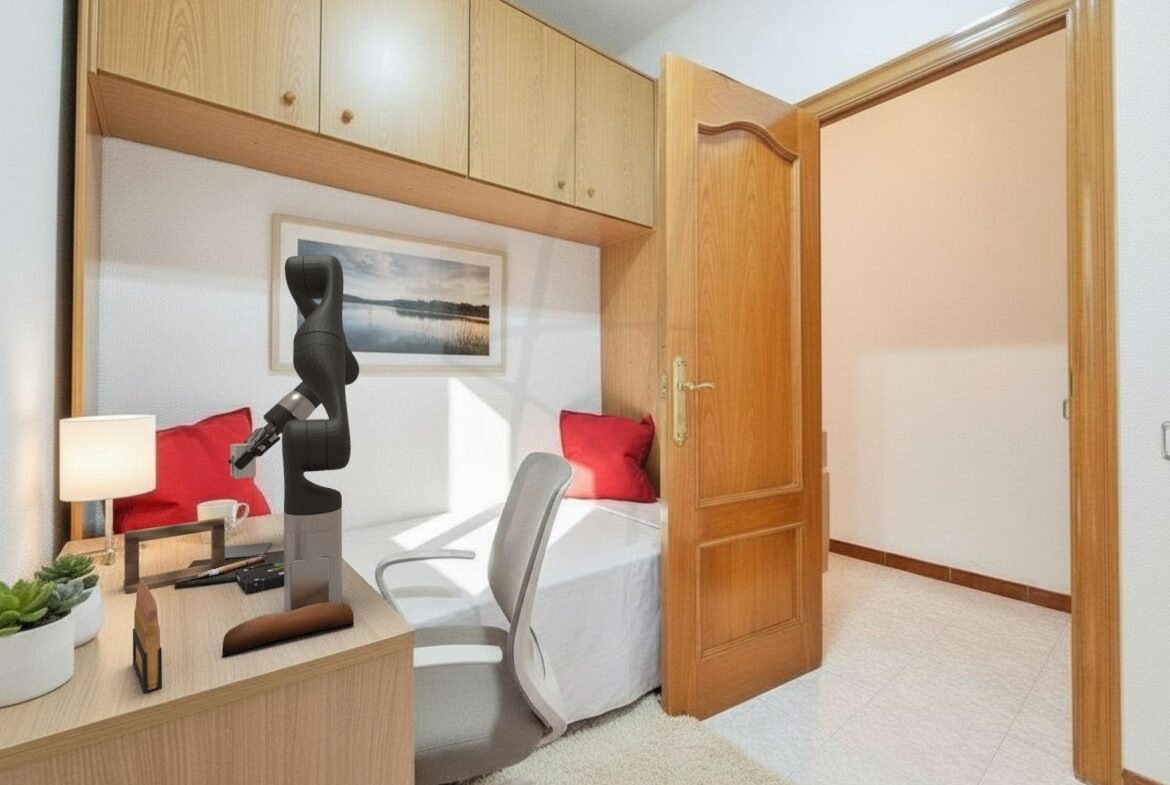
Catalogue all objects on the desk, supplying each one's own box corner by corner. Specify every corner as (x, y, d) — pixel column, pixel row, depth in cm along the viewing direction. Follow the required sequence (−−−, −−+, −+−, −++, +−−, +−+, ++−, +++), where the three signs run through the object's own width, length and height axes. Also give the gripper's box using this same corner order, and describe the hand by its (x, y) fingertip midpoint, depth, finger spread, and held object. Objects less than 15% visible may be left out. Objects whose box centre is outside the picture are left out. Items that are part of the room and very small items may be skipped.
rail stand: (220, 566, 116) (220, 516, 116) (226, 573, 112) (226, 520, 112) (123, 585, 105) (123, 529, 105) (126, 593, 101) (126, 535, 100)
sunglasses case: (343, 608, 94) (347, 581, 91) (351, 641, 89) (356, 615, 86) (220, 635, 84) (220, 606, 81) (221, 675, 79) (221, 646, 76)
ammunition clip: (162, 688, 69) (161, 596, 69) (143, 694, 68) (143, 600, 68) (149, 659, 77) (149, 575, 76) (132, 664, 75) (132, 579, 75)
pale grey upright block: (250, 473, 129) (249, 442, 129) (255, 476, 126) (255, 444, 125) (230, 475, 126) (230, 444, 126) (235, 478, 123) (235, 446, 123)
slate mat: (262, 556, 123) (262, 554, 123) (211, 561, 120) (211, 558, 120) (272, 544, 132) (272, 542, 132) (225, 548, 129) (225, 546, 129)
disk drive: (246, 598, 100) (329, 578, 110) (245, 583, 100) (329, 564, 110) (235, 583, 108) (314, 566, 118) (234, 569, 108) (313, 553, 118)
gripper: (269, 401, 136) (213, 453, 128) (287, 403, 126) (227, 458, 118) (292, 421, 140) (239, 472, 132) (311, 424, 130) (255, 479, 121)
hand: (234, 465), depth 125 cm, fingers closed on pale grey upright block, 5 cm apart
